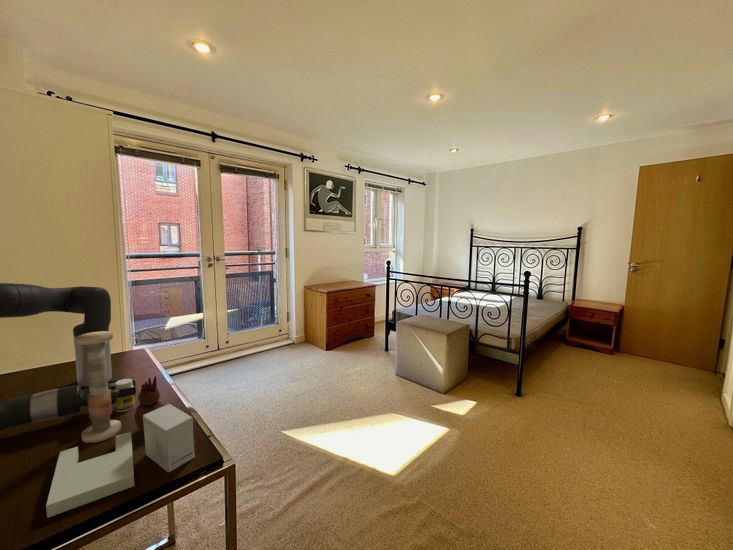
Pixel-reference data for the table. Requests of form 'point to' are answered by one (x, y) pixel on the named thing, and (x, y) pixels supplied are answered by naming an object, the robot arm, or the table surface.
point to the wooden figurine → (147, 402)
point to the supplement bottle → (127, 401)
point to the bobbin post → (98, 389)
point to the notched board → (90, 476)
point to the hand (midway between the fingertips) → (135, 386)
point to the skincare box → (169, 437)
